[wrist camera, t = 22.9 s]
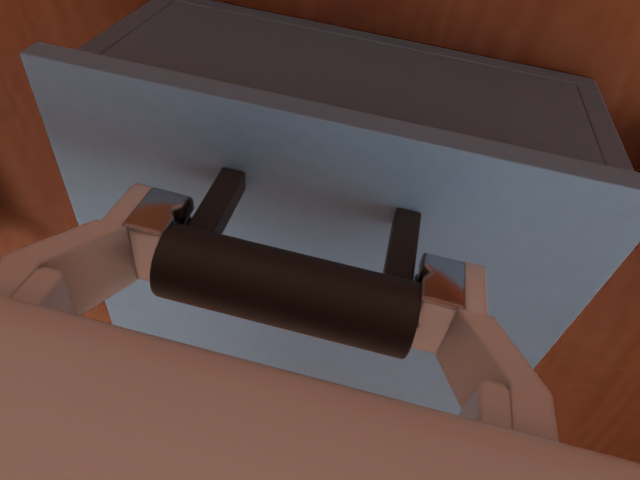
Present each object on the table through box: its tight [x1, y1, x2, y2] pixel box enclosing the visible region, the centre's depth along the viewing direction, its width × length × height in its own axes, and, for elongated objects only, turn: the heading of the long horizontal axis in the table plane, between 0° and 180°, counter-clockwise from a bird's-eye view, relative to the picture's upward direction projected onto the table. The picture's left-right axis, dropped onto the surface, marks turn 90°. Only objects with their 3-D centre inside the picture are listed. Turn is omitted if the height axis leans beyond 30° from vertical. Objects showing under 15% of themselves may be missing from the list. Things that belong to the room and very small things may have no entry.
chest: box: [76, 0, 634, 171], centre depth 21 cm, size 14×17×7 cm
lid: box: [20, 41, 640, 415], centre depth 16 cm, size 14×17×5 cm
